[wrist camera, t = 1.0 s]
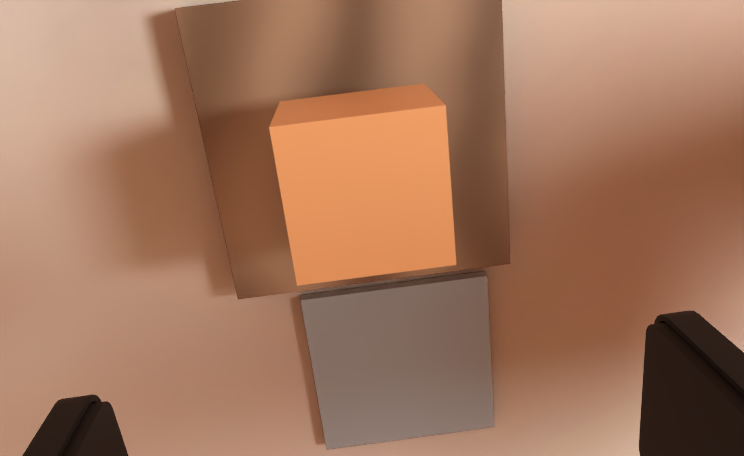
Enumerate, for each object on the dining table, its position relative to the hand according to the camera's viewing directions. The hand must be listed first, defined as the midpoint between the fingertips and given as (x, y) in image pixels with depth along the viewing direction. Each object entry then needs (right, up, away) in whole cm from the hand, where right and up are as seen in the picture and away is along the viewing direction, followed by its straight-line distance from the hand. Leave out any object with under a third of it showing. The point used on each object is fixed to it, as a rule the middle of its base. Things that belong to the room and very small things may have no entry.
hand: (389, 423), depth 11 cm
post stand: (-1, +8, +20) cm, 21 cm away
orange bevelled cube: (-1, +6, +16) cm, 17 cm away
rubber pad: (+1, -4, +24) cm, 25 cm away
